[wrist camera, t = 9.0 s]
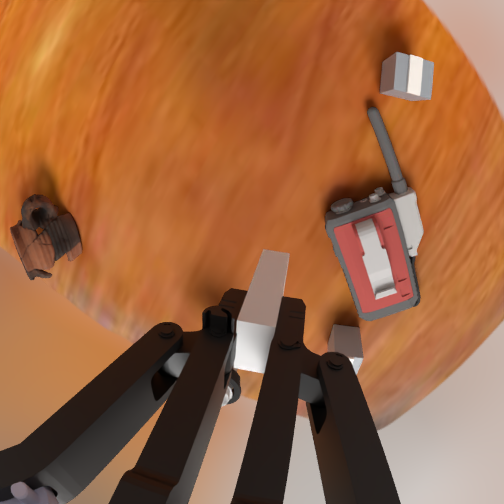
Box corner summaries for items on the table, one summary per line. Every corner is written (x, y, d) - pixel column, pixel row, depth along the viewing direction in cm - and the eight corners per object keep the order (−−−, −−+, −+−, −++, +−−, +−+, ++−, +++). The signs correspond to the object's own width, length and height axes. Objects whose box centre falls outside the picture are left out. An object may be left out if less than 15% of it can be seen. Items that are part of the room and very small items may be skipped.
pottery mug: (90, 272, 38) (39, 300, 33) (64, 235, 42) (19, 258, 36) (75, 196, 30) (9, 226, 25) (50, 165, 34) (-4, 188, 28)
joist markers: (382, 61, 22) (397, 51, 17) (414, 69, 21) (435, 62, 16) (327, 344, 35) (327, 377, 30) (352, 347, 34) (355, 380, 30)
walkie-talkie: (432, 290, 30) (379, 103, 24) (445, 313, 26) (390, 102, 20) (359, 315, 33) (288, 137, 26) (363, 341, 29) (284, 141, 23)
